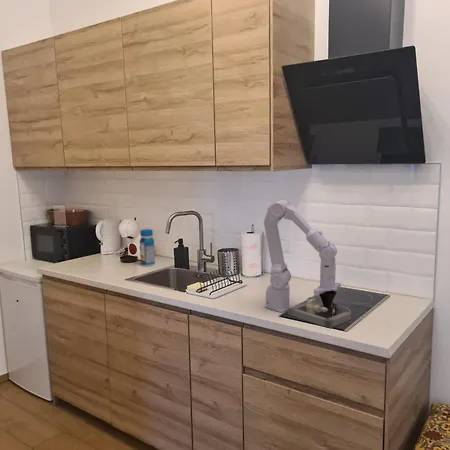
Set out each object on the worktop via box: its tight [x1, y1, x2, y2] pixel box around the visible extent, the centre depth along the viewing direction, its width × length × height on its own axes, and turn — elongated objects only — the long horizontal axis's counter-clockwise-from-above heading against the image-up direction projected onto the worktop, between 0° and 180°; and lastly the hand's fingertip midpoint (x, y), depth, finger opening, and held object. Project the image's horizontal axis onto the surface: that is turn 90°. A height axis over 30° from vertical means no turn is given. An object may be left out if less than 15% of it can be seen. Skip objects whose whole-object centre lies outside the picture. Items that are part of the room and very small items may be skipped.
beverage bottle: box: [139, 228, 156, 267], centre depth 268 cm, size 8×8×20 cm
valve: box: [306, 296, 339, 318], centre depth 181 cm, size 7×7×12 cm
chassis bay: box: [287, 301, 352, 329], centre depth 181 cm, size 20×13×2 cm, turn 41°
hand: (327, 309), depth 184 cm, fingers closed
